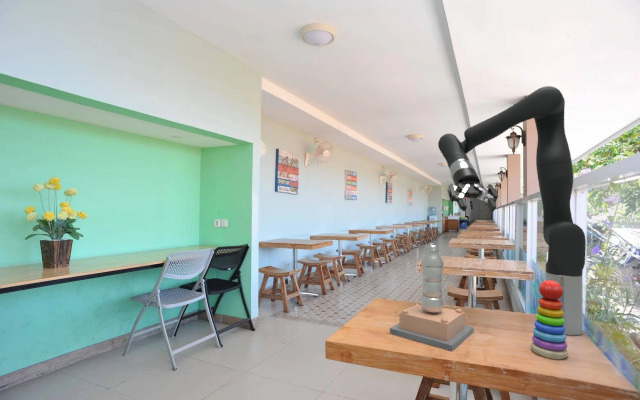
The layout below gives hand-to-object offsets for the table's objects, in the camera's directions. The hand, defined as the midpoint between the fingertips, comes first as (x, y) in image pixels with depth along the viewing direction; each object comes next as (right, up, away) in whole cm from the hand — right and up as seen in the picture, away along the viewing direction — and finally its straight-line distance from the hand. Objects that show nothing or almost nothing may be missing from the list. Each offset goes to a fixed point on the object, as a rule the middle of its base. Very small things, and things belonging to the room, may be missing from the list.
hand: (479, 209), depth 102 cm
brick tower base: (-15, -36, -2) cm, 40 cm away
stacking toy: (+11, -37, -16) cm, 41 cm away
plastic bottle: (-15, -31, -2) cm, 34 cm away
